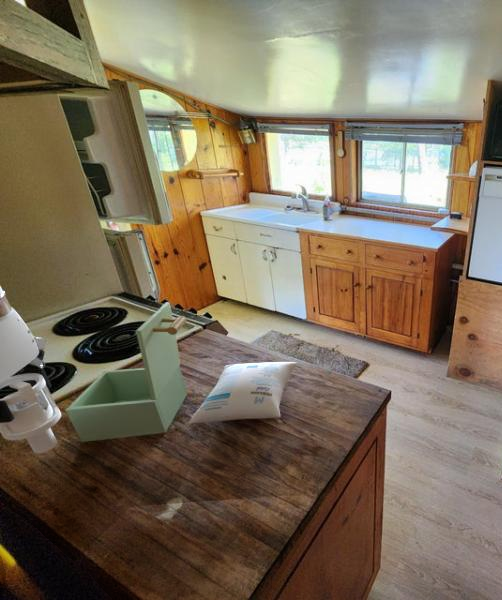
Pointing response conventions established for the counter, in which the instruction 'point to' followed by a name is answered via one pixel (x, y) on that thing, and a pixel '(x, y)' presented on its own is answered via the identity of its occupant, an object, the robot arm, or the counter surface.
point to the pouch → (246, 392)
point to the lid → (160, 347)
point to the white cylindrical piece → (31, 413)
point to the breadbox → (125, 406)
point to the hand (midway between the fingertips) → (21, 403)
